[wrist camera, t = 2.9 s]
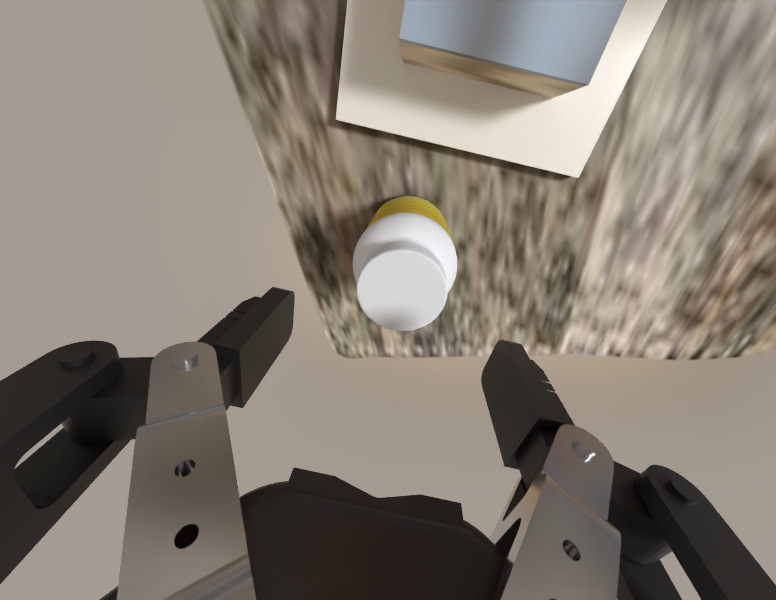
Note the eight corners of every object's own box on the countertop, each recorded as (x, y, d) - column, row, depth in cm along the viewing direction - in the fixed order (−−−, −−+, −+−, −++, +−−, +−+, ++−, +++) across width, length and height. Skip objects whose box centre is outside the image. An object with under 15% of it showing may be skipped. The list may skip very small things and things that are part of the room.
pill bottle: (381, 183, 23) (352, 210, 12) (457, 206, 23) (489, 252, 13) (364, 256, 26) (328, 326, 16) (430, 276, 26) (439, 357, 16)
